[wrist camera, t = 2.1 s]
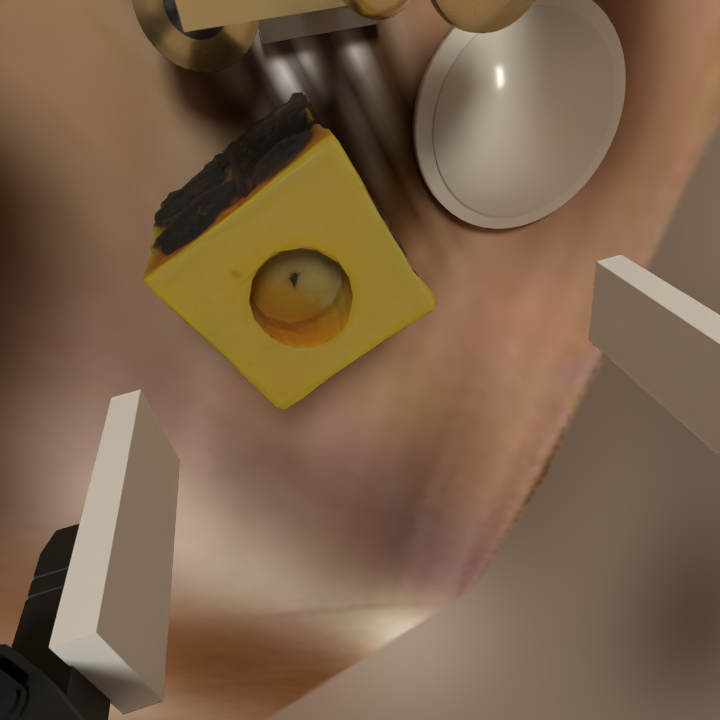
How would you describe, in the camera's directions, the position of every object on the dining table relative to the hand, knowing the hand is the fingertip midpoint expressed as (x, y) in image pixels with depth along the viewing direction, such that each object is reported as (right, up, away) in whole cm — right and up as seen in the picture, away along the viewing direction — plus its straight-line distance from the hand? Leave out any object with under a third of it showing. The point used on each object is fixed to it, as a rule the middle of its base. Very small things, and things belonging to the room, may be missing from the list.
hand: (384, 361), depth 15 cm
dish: (+9, +14, +16) cm, 24 cm away
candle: (-5, +9, +17) cm, 20 cm away
